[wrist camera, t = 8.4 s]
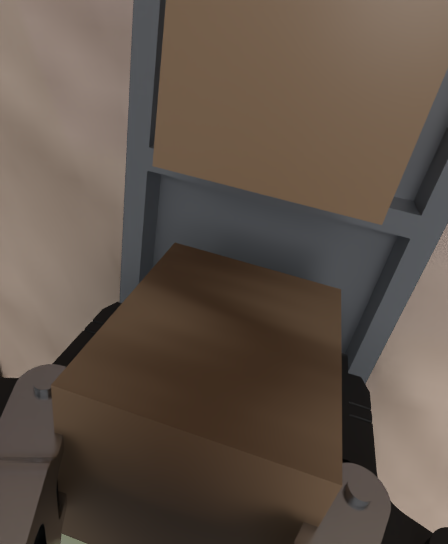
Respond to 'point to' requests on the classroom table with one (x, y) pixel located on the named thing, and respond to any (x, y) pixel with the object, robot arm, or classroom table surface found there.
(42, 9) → the classroom table surface
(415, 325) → the classroom table surface
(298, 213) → the tray
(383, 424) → the classroom table surface
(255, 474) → the block
